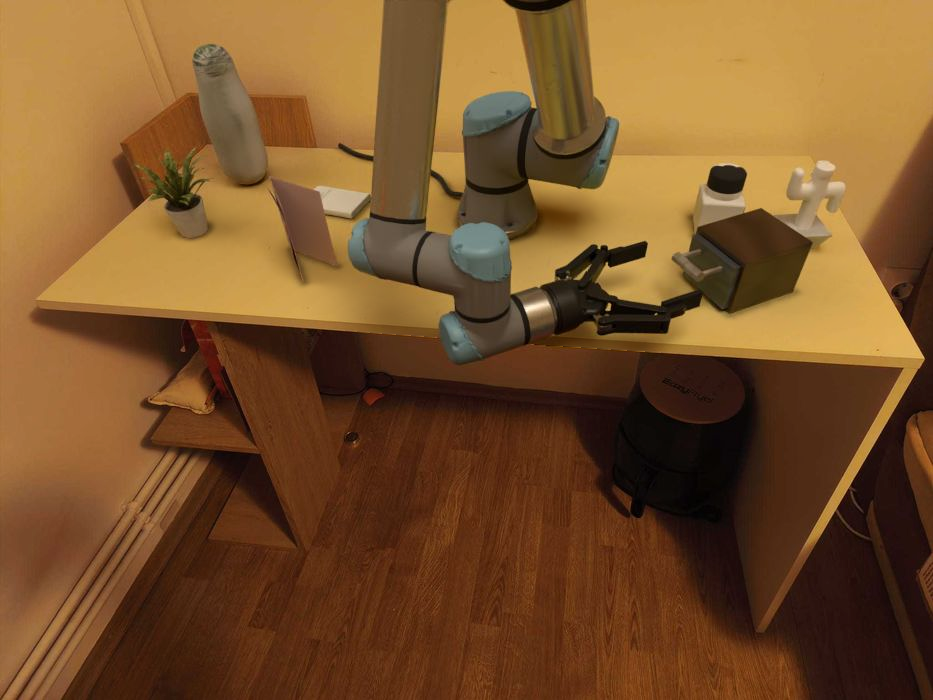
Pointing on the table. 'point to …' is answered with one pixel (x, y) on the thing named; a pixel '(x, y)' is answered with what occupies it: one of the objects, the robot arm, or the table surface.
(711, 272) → the grey pull-out drawer
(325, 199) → the hard drive
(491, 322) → the robot arm
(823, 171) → the figurine
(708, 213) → the medicine bottle
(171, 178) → the house plant
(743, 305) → the cabinet
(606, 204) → the table surface
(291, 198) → the greeting card
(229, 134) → the grey bottle
